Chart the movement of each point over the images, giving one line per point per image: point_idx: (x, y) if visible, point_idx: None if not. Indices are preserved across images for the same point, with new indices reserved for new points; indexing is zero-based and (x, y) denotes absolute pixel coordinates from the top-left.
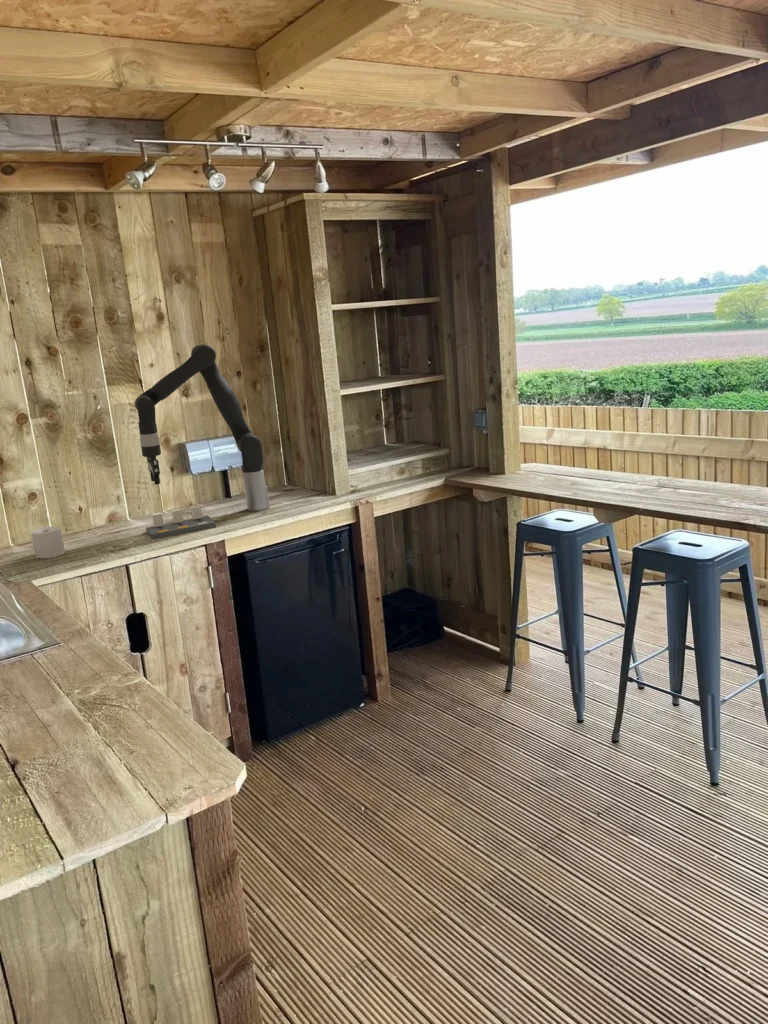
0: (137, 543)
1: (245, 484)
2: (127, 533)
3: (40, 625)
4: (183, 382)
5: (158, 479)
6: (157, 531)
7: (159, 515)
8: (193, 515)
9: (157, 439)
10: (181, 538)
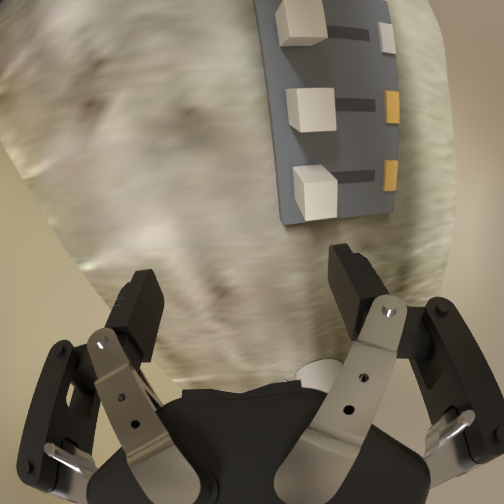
0: (388, 242)
1: None
2: (256, 269)
3: None
4: None
5: (374, 277)
6: (372, 191)
7: (335, 190)
8: (316, 42)
9: None
10: (433, 129)
